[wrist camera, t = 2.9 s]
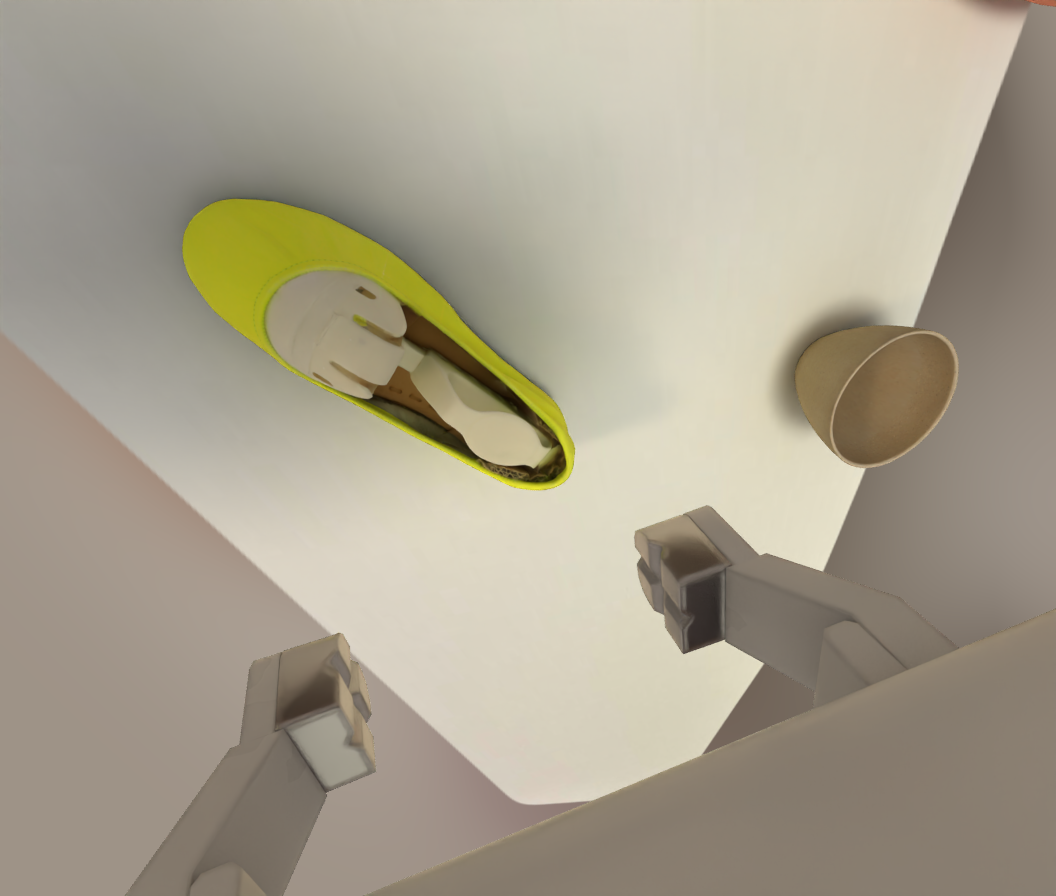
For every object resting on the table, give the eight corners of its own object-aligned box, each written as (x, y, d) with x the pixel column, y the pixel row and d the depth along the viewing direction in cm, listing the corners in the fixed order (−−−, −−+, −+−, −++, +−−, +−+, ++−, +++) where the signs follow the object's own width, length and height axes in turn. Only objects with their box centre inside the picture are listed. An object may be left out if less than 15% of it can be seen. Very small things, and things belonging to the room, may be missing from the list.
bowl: (901, 330, 47) (985, 363, 41) (823, 438, 50) (891, 483, 44) (820, 278, 43) (902, 307, 37) (741, 400, 46) (803, 445, 40)
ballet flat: (243, 137, 29) (220, 147, 22) (584, 392, 41) (635, 448, 35) (160, 273, 31) (115, 321, 24) (511, 479, 43) (546, 549, 36)
